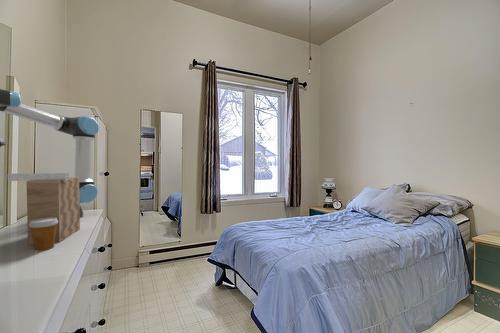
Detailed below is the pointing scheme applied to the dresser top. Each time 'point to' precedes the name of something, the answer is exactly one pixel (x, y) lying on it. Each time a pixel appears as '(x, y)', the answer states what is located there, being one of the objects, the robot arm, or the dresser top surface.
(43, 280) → the dresser top surface
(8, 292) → the dresser top surface
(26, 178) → the steel bar
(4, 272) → the dresser top surface
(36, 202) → the walnut shelf
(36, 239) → the disposable coffee cup
